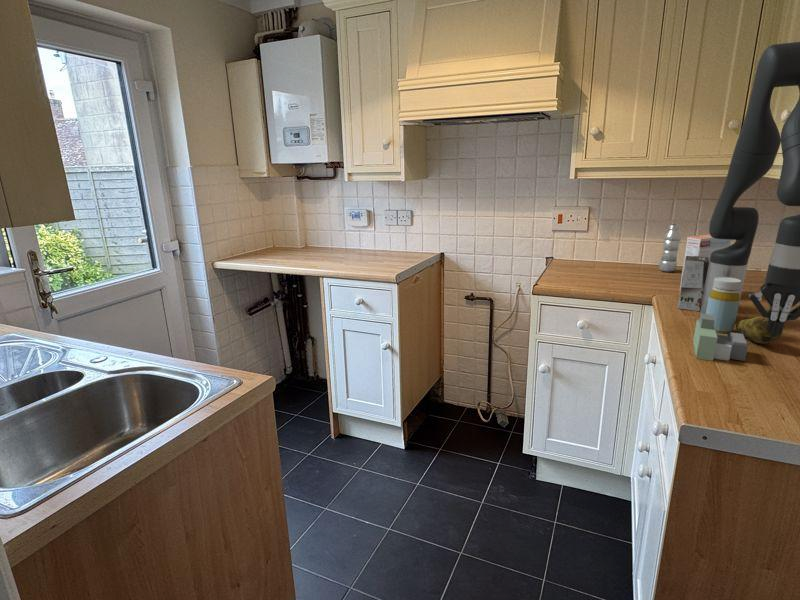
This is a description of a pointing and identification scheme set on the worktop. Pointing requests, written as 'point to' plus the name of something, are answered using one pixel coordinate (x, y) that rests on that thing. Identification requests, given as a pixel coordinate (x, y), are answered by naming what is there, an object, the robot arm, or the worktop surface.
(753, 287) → the worktop surface
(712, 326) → the green block cluster
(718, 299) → the bottle
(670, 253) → the plastic bottle
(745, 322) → the potato
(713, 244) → the cracker box
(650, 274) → the worktop surface
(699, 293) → the coffee box
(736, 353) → the grey stepped block
